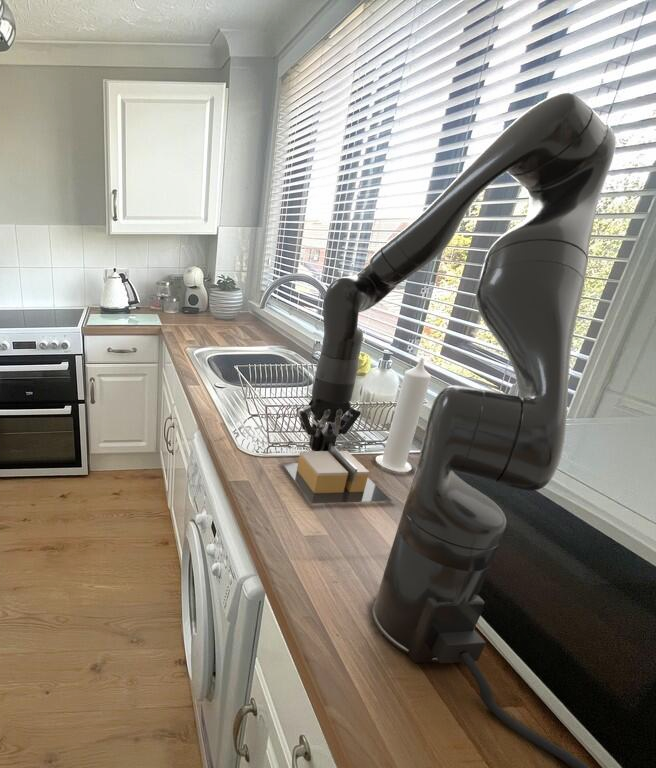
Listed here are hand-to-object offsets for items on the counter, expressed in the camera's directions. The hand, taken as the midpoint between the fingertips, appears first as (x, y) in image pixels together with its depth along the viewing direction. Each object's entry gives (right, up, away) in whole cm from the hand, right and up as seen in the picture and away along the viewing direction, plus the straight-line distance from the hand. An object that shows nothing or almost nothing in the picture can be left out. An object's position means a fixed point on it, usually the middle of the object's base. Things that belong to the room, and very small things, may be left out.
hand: (320, 449), depth 91 cm
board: (0, -6, -6) cm, 9 cm away
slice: (+2, -5, -6) cm, 9 cm away
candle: (+16, -4, +1) cm, 17 cm away
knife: (0, -2, -5) cm, 5 cm away
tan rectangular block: (-3, -5, -7) cm, 9 cm away
